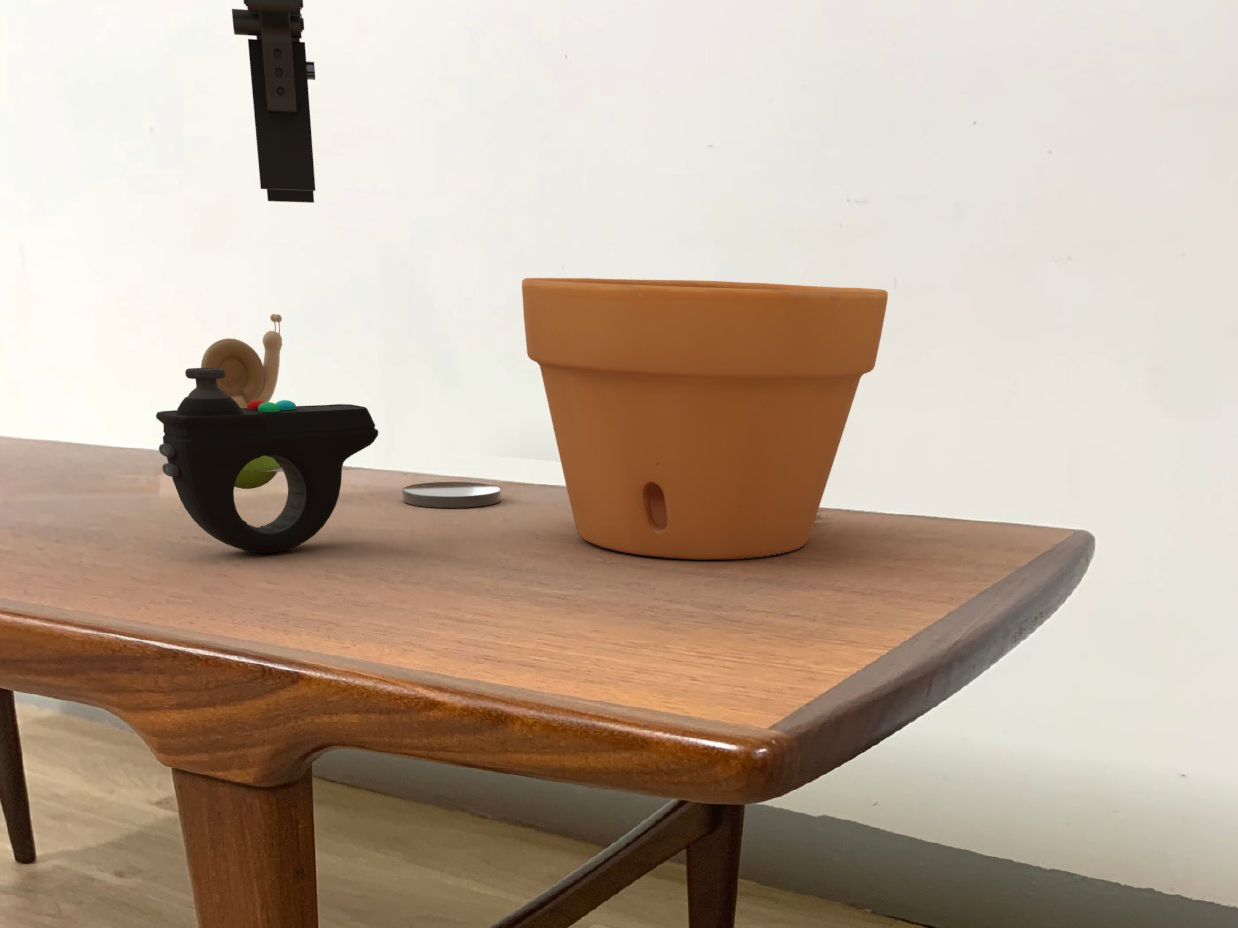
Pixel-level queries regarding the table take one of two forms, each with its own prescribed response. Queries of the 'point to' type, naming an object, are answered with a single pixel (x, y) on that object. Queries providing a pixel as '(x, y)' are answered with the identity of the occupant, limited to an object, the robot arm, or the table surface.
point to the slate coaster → (451, 494)
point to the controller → (232, 437)
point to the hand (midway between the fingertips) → (289, 197)
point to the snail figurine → (248, 387)
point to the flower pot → (698, 406)
